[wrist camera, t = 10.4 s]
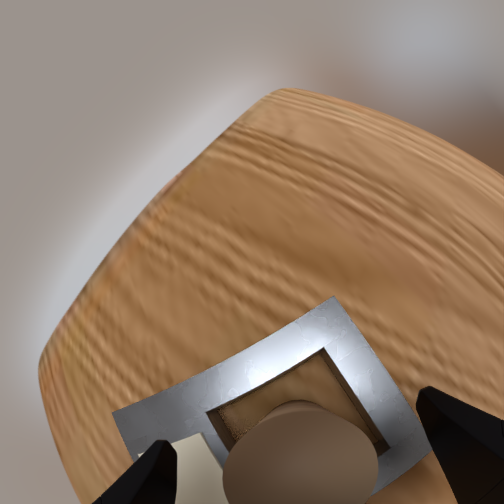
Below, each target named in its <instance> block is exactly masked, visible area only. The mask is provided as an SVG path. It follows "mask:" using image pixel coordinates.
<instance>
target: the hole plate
mask: <svg viewBox="0 0 504 504" xmlns="http://www.w3.org/2000/svg"><path fill="white" fill-rule="evenodd" d="M319 353H320V354H321V355H322V357H323V359H324V360H325V362H326V363H327V365H328V366H329V368H330V369H331V371H332V372H333V374H334V375H335V377H336V378H337V380H338V381H339V383H340V384H341V386H342V387H343V389H344V390H345V392H346V393H347V395H348V396H349V398H350V399H351V401H352V402H353V404H354V405H355V407H356V408H357V410H358V411H359V413H360V414H361V416H362V417H363V419H364V420H365V422H366V423H367V425H368V427H369V428H370V430H371V431H372V433H373V434H374V436H375V437H376V439H377V440H378V442H377V443H376V444H374V445H373V446H374V449H375V451H376V454H377V459H378V477H377V481H376V484H375V487H374V490H373V492H372V494H371V496H372V495H373V494H375V493H377V492H378V491H380V490H381V489H383V488H384V487H386V486H387V485H389V484H390V483H391V482H393V481H394V480H396V479H397V478H398V477H400V476H401V475H402V474H404V473H405V472H406V471H408V470H409V469H410V468H411V467H413V466H414V465H415V464H416V463H418V462H419V461H420V460H421V459H422V458H424V457H425V456H426V455H427V454H428V453H429V452H430V451H432V450H433V449H432V447H431V445H430V443H429V441H428V439H427V436H426V434H425V431H424V428H423V426H422V425H421V423H420V422H419V420H418V418H417V417H416V415H415V414H414V412H413V410H412V409H411V407H410V406H409V404H408V403H407V401H406V399H405V398H404V396H403V395H402V393H401V392H400V390H399V389H398V387H397V386H396V384H395V383H394V381H393V380H392V378H391V377H390V375H389V374H388V372H387V371H386V369H385V368H384V366H383V365H382V363H381V362H380V360H379V359H378V357H377V356H376V354H375V353H374V351H373V350H372V348H371V347H370V346H369V344H368V343H367V341H366V340H365V338H364V337H363V336H362V334H361V333H360V331H359V330H358V328H357V327H356V326H355V324H354V323H353V321H352V320H351V319H350V317H349V316H348V314H347V313H346V312H345V310H344V309H343V307H342V306H341V305H340V303H339V302H338V300H337V299H336V298H335V296H332V297H331V298H329V299H328V300H326V301H325V302H323V303H322V304H320V305H319V306H317V307H316V308H314V309H312V310H311V311H309V312H308V313H306V314H305V315H303V316H301V317H300V318H298V319H297V320H295V321H293V322H292V323H290V324H288V325H287V326H285V327H283V328H282V329H280V330H278V331H277V332H275V333H273V334H272V335H270V336H268V337H266V338H265V339H263V340H261V341H260V342H258V343H256V344H254V345H252V346H251V347H249V348H247V349H245V350H243V351H242V352H240V353H238V354H236V355H234V356H232V357H231V358H229V359H227V360H225V361H223V362H221V363H219V364H217V365H215V366H213V367H212V368H210V369H208V370H206V371H204V372H202V373H200V374H198V375H196V376H194V377H192V378H189V379H187V380H185V381H183V382H181V383H179V384H177V385H175V386H173V387H171V388H168V389H166V390H164V391H162V392H160V393H157V394H155V395H153V396H151V397H148V398H146V399H144V400H141V401H139V402H137V403H134V404H132V405H129V406H127V407H124V408H122V409H119V410H117V411H114V412H112V415H113V417H114V420H115V422H116V425H117V427H118V429H119V432H120V434H121V436H122V438H123V441H124V443H125V445H126V447H127V449H128V451H129V453H130V455H131V457H132V459H133V461H134V462H135V461H136V460H137V459H138V458H139V457H140V456H141V455H142V454H143V453H144V452H145V451H146V450H147V449H148V448H149V447H150V446H151V445H152V444H153V443H154V442H155V441H156V440H159V439H160V440H168V441H169V442H170V444H171V445H172V446H173V448H174V449H175V450H176V452H177V493H176V500H175V504H229V502H228V501H227V498H226V496H225V493H224V489H223V481H222V476H223V469H224V465H225V461H226V459H227V457H228V455H229V453H230V451H231V450H232V448H233V447H234V445H235V444H236V442H235V440H234V438H233V437H232V435H231V433H230V432H229V430H228V428H227V427H226V425H225V423H224V421H223V420H222V418H221V416H220V414H219V413H218V411H217V410H218V409H220V408H222V407H224V406H226V405H228V404H230V403H232V402H234V401H236V400H238V399H240V398H242V397H244V396H246V395H248V394H250V393H252V392H254V391H256V390H258V389H260V388H261V387H263V386H265V385H267V384H269V383H271V382H272V381H274V380H276V379H278V378H279V377H281V376H283V375H285V374H286V373H288V372H290V371H291V370H293V369H295V368H296V367H298V366H300V365H301V364H303V363H305V362H306V361H308V360H309V359H311V358H313V357H314V356H316V355H317V354H319Z"/></svg>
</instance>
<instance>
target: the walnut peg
mask: <svg viewBox="0 0 504 504" xmlns="http://www.w3.org/2000/svg"><path fill="white" fill-rule="evenodd" d="M377 477H378V459H377V454H376V451H375V449H374V446H373V445H372V443H371V441H370V440H369V438H368V437H367V436H366V435H365V433H363V432H362V431H361V430H360V429H359V428H358V427H356V426H355V425H353V424H352V423H350V422H348V421H347V420H345V419H343V418H341V417H339V416H337V415H335V414H334V413H332V412H330V411H328V410H326V409H325V408H323V407H321V406H319V405H317V404H316V403H313V402H310V401H306V400H293V401H288V402H285V403H283V404H281V405H279V406H277V407H276V408H275V409H273V410H272V411H271V412H270V413H269V414H268V415H267V416H266V417H265V418H263V419H262V420H261V421H260V422H259V423H258V424H257V425H255V426H254V427H253V428H252V429H251V430H249V431H248V432H247V433H246V434H245V435H244V436H243V437H242V438H241V439H240V440H239V441H238V442H237V443H236V444H235V445H234V447H233V448H232V450H231V451H230V453H229V455H228V457H227V459H226V461H225V465H224V469H223V476H222V481H223V489H224V493H225V496H226V498H227V501H228V502H229V504H365V503H366V502H367V500H368V499H369V497H370V496H371V494H372V492H373V490H374V487H375V484H376V481H377Z"/></svg>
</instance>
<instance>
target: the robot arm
mask: <svg viewBox="0 0 504 504" xmlns="http://www.w3.org/2000/svg"><path fill="white" fill-rule="evenodd" d="M416 410H417V412H418V415H419V417H420V420H421V423H422V425H423V428H424V431H425V434H426V436H427V439H428V441H429V443H430V445H431V447H432V449H433V451H434V453H435V455H436V457H437V459H438V461H439V463H440V465H441V467H442V470H443V472H444V474H445V476H446V478H447V480H448V482H449V484H450V487H451V489H452V491H453V493H454V496H455V498H456V500H457V502H458V504H504V420H501V419H500V418H497V417H495V416H493V415H491V414H488V413H486V412H484V411H482V410H480V409H478V408H475V407H473V406H471V405H469V404H467V403H465V402H463V401H460V400H458V399H456V398H454V397H452V396H450V395H448V394H446V393H444V392H442V391H440V390H438V389H436V388H434V387H432V386H427V387H425V388H423V389H421V390H420V391H419V393H418V397H417V401H416ZM176 493H177V452H176V450H175V449H174V448H173V446H172V445H171V444H170V442H169V441H168V440H160V439H159V440H156V441H155V442H154V443H153V444H152V445H151V446H150V447H149V448H148V449H147V450H146V451H145V452H144V453H143V454H142V455H141V456H140V457H139V458H138V459H137V460H136V461H135V462H134V463H133V464H132V465H131V466H130V468H129V469H128V470H127V471H126V472H125V473H124V474H123V475H121V476H120V477H119V478H118V479H117V480H116V481H115V482H114V483H113V484H112V485H111V486H110V487H109V488H108V489H107V490H106V491H105V492H104V493H103V494H102V495H101V497H99V498H97V499H96V500H95V501H94V502H93V503H92V504H175V500H176Z"/></svg>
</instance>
